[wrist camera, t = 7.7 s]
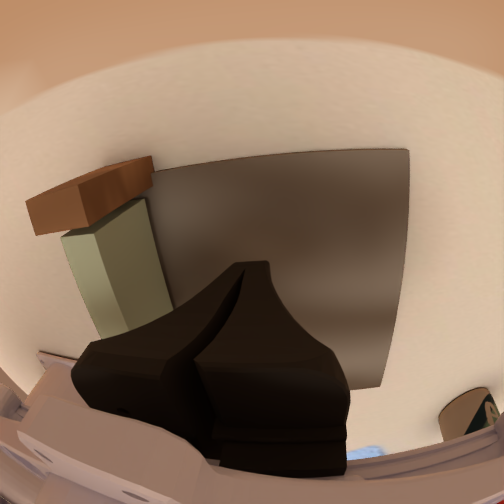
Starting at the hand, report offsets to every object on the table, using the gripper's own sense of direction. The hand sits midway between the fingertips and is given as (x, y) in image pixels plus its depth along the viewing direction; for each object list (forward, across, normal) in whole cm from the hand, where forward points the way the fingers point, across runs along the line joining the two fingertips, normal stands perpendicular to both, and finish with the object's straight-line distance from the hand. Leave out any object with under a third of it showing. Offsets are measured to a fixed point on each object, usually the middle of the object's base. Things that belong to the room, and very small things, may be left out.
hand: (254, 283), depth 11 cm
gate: (+2, +6, +2) cm, 6 cm away
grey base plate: (+3, +1, +3) cm, 4 cm away
